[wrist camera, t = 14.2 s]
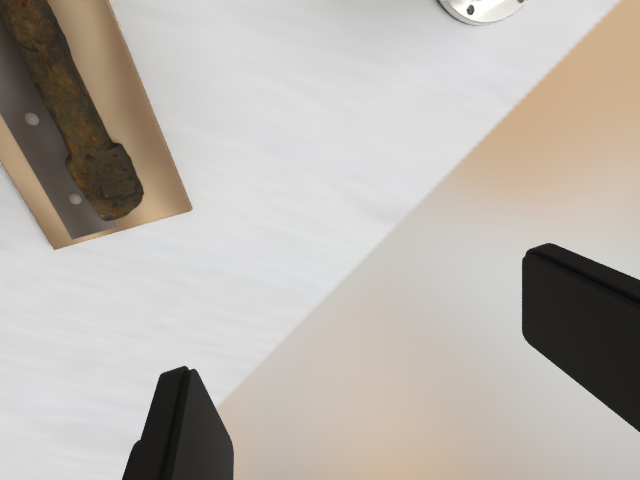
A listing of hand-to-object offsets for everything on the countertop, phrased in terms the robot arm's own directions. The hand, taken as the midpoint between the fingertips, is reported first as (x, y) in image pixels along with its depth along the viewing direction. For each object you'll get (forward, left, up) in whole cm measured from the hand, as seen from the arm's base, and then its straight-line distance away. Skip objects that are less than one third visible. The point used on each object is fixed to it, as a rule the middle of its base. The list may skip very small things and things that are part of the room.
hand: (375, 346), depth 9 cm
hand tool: (+17, -10, -26) cm, 32 cm away
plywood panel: (+15, -10, -28) cm, 34 cm away
